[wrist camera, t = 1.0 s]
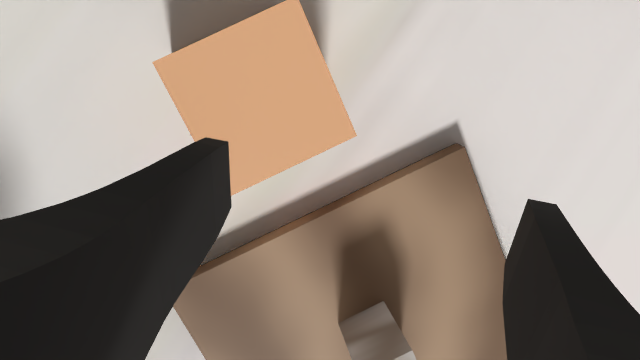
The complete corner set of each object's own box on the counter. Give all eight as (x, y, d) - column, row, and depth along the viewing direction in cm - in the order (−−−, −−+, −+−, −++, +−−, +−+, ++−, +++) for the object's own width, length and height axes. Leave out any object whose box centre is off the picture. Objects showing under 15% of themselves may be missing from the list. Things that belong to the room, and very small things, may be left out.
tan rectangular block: (225, 157, 25) (225, 198, 19) (171, 53, 24) (152, 62, 18) (324, 109, 26) (356, 135, 19) (278, 4, 24) (296, -5, 18)
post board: (285, 478, 31) (297, 570, 26) (166, 282, 27) (151, 344, 21) (533, 355, 32) (594, 419, 26) (456, 143, 27) (511, 170, 22)
